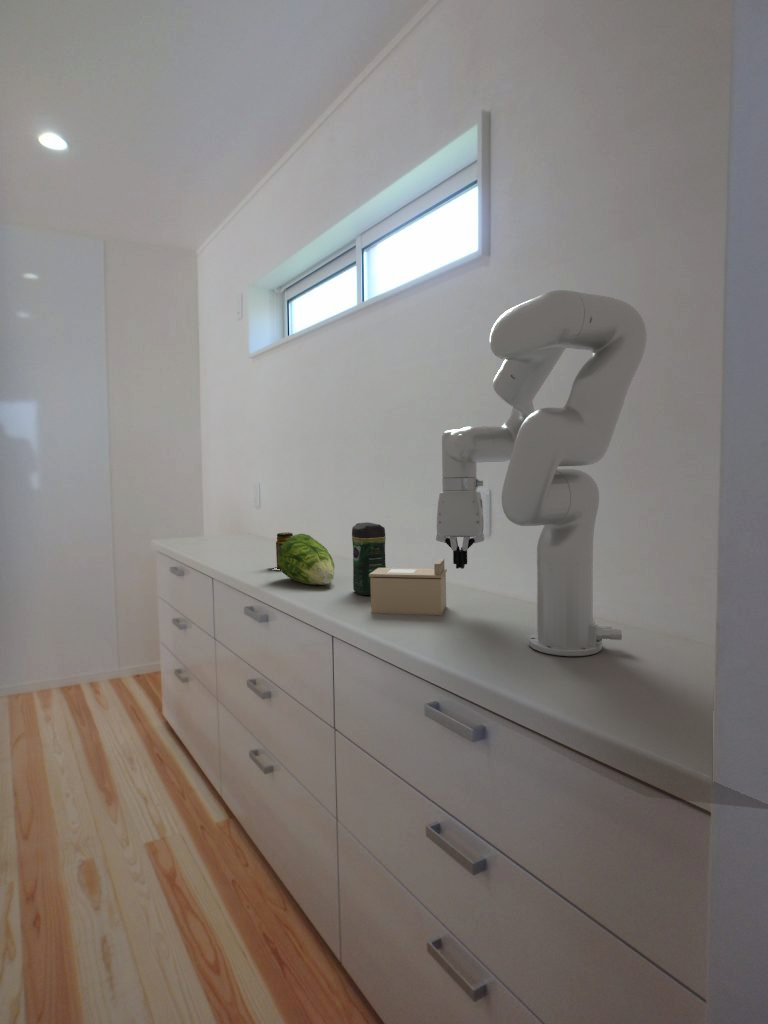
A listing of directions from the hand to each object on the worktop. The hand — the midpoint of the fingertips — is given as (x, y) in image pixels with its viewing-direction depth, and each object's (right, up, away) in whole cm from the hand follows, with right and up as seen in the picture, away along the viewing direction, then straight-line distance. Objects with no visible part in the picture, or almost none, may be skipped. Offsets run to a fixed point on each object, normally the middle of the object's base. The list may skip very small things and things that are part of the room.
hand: (460, 567), depth 132 cm
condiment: (-51, -7, +65) cm, 82 cm away
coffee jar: (-21, -9, +23) cm, 32 cm away
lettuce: (-38, -8, +39) cm, 55 cm away
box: (-11, -10, +3) cm, 16 cm away
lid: (-11, -2, +3) cm, 12 cm away
